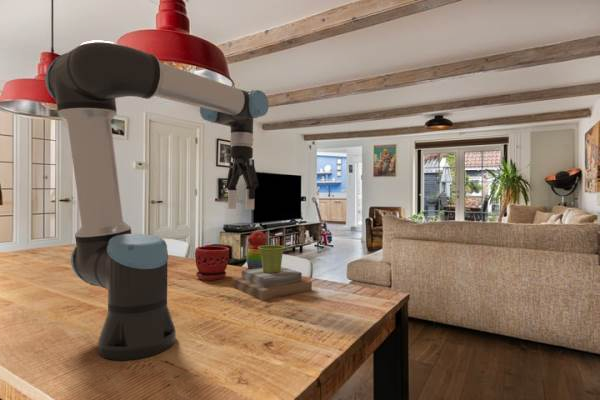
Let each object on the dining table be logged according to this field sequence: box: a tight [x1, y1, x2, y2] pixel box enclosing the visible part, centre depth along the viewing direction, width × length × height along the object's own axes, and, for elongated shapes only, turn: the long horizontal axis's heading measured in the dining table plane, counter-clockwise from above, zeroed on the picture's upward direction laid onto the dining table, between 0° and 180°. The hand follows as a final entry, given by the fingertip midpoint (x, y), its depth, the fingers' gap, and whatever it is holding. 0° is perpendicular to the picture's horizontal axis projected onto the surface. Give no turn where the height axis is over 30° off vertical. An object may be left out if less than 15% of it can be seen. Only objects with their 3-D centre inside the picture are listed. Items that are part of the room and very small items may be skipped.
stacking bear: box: [245, 230, 266, 270], centre depth 146 cm, size 11×10×18 cm
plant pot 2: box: [258, 244, 286, 273], centre depth 121 cm, size 9×9×9 cm
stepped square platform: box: [232, 266, 313, 301], centre depth 122 cm, size 20×20×6 cm
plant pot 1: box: [194, 245, 230, 281], centre depth 138 cm, size 13×13×12 cm
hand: (240, 209), depth 118 cm, fingers open, 13 cm apart
